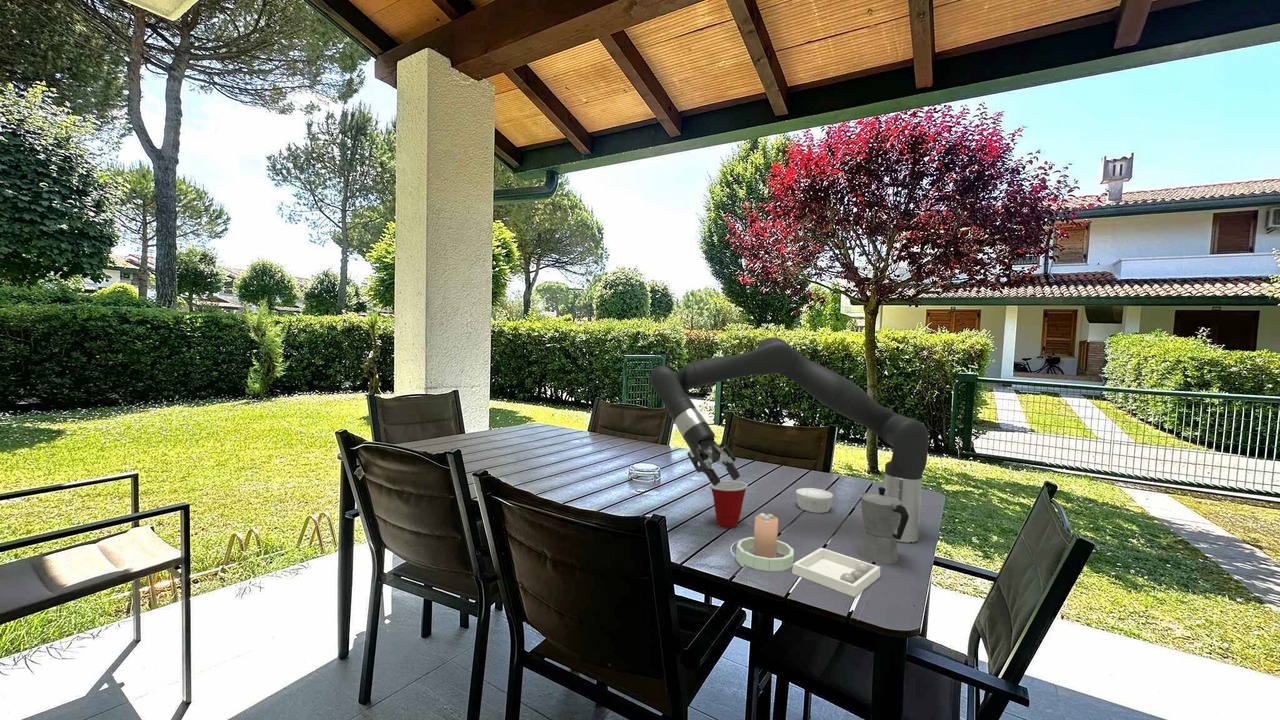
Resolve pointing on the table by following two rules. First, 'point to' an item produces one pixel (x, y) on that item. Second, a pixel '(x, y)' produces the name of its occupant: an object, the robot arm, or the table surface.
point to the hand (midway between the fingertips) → (727, 481)
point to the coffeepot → (881, 527)
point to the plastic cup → (728, 502)
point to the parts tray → (837, 571)
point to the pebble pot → (765, 535)
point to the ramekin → (814, 500)
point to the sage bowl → (762, 562)
